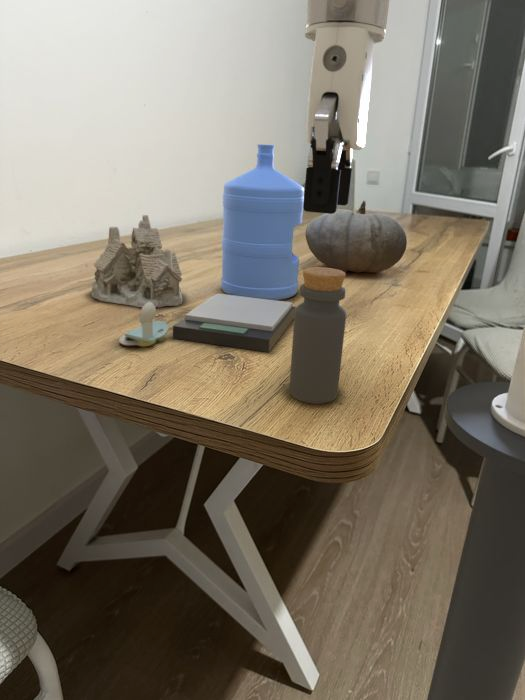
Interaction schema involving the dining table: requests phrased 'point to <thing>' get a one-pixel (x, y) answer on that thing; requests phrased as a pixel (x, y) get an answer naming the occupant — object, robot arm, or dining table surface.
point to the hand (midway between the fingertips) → (327, 207)
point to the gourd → (356, 240)
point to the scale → (236, 322)
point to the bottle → (318, 336)
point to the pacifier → (146, 328)
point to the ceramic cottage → (137, 270)
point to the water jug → (261, 232)
